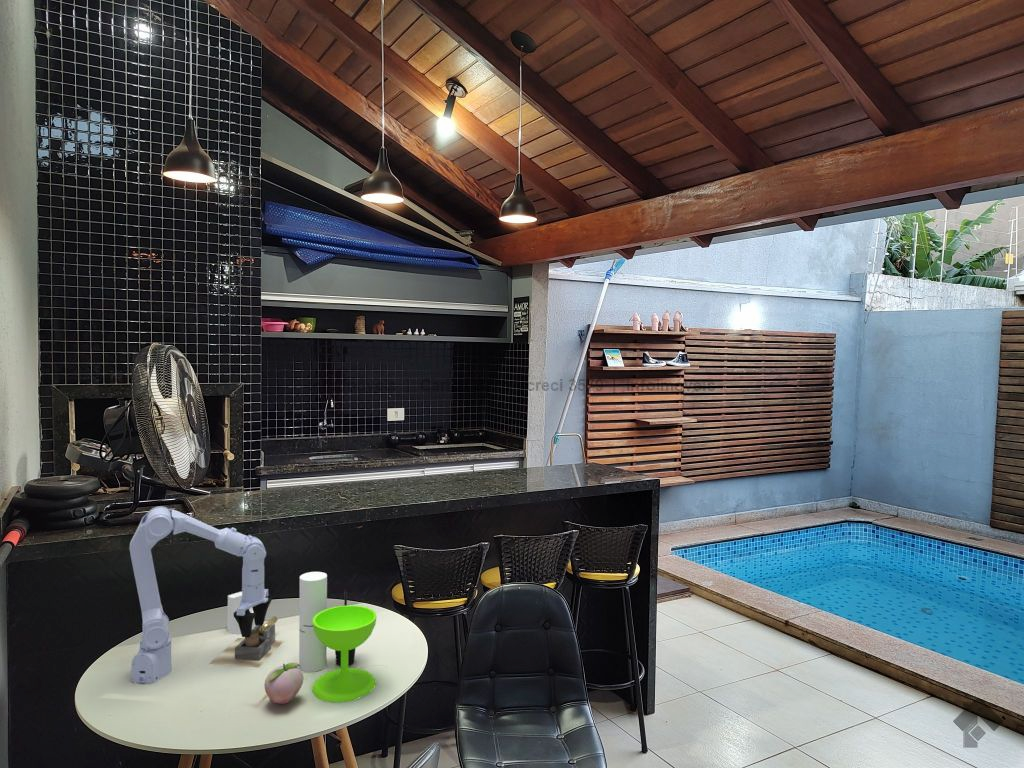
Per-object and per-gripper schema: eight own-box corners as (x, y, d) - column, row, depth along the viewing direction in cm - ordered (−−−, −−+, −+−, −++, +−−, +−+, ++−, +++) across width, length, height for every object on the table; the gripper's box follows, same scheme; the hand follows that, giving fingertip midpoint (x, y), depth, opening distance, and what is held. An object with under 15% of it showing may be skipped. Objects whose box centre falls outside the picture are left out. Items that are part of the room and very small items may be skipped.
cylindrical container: (318, 673, 176) (319, 581, 174) (294, 670, 177) (294, 579, 176) (331, 661, 183) (331, 573, 181) (307, 658, 184) (307, 570, 183)
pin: (264, 635, 188) (264, 628, 188) (257, 635, 188) (257, 628, 188) (277, 622, 196) (277, 616, 196) (271, 622, 197) (271, 615, 196)
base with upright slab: (237, 640, 194) (237, 600, 193) (221, 632, 199) (221, 593, 199) (265, 630, 201) (265, 592, 201) (248, 622, 207) (249, 585, 206)
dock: (258, 671, 176) (258, 648, 176) (208, 668, 177) (208, 645, 177) (284, 644, 192) (284, 623, 192) (238, 641, 193) (238, 621, 193)
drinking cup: (324, 664, 181) (325, 593, 179) (344, 653, 187) (344, 584, 186) (346, 671, 177) (346, 599, 176) (365, 660, 184) (365, 590, 183)
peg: (258, 655, 182) (256, 634, 182) (244, 657, 181) (243, 635, 181) (261, 650, 185) (259, 629, 185) (248, 651, 185) (246, 630, 185)
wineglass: (358, 664, 181) (359, 600, 180) (387, 688, 169) (387, 620, 168) (302, 682, 171) (302, 614, 170) (328, 709, 159) (328, 636, 158)
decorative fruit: (282, 690, 167) (282, 652, 166) (308, 697, 164) (309, 658, 163) (255, 709, 158) (255, 668, 158) (283, 716, 155) (283, 675, 155)
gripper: (254, 593, 175) (254, 643, 175) (278, 574, 189) (278, 620, 190) (229, 591, 175) (228, 641, 176) (255, 573, 190) (254, 619, 190)
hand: (252, 630), depth 183 cm, fingers open, 7 cm apart
